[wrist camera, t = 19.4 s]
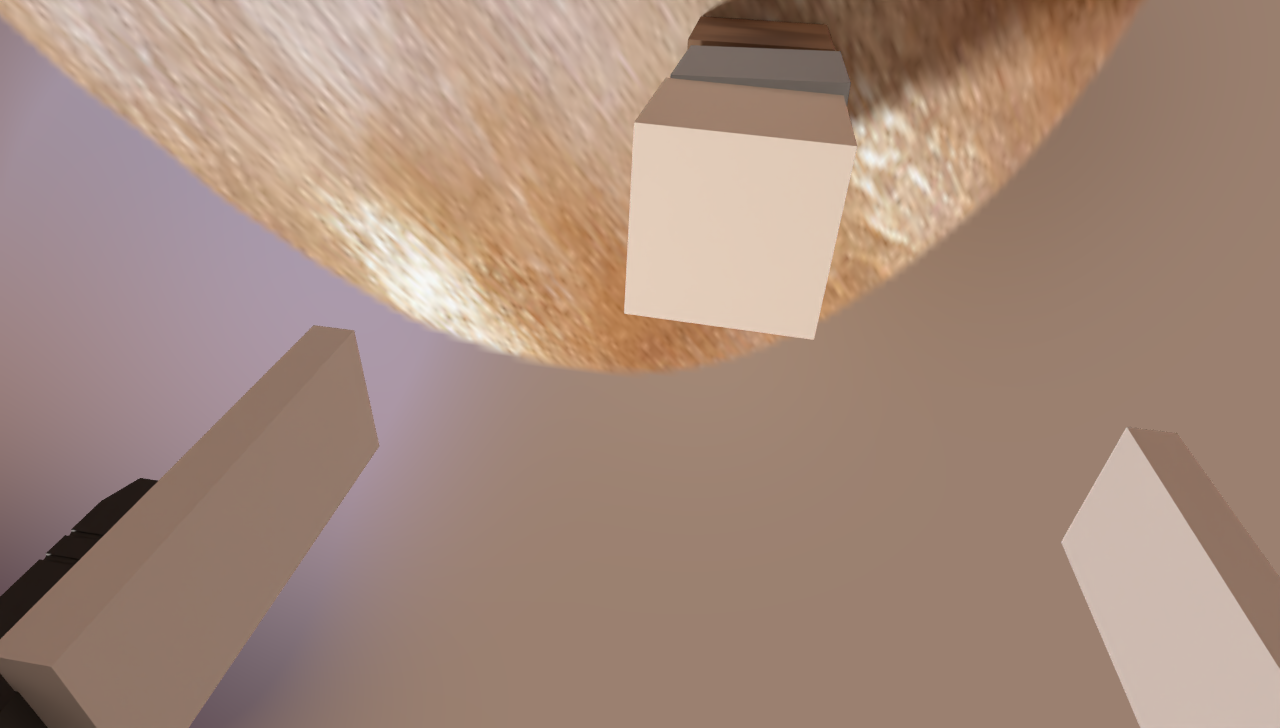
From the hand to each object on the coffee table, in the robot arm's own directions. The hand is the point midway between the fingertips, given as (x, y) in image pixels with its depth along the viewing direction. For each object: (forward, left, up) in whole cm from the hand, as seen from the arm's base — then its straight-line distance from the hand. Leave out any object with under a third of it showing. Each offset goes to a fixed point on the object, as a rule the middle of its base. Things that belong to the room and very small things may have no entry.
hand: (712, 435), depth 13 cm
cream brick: (0, -1, -16) cm, 16 cm away
